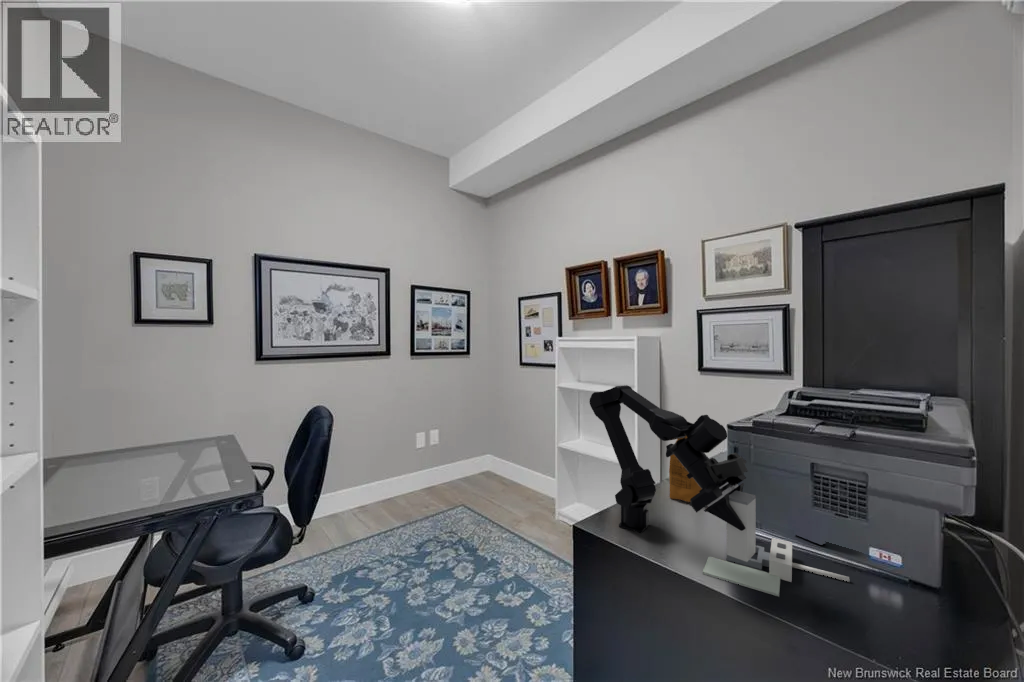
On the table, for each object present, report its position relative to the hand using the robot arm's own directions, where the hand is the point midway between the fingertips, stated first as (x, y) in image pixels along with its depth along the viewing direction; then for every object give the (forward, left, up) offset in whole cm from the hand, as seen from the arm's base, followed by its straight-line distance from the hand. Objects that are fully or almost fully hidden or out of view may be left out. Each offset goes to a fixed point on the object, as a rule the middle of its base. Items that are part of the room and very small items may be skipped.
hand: (748, 525), depth 88 cm
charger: (-1, 0, -7) cm, 7 cm away
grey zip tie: (+6, +10, -11) cm, 16 cm away
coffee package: (-20, +41, -12) cm, 47 cm away
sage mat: (-1, 0, -11) cm, 12 cm away
